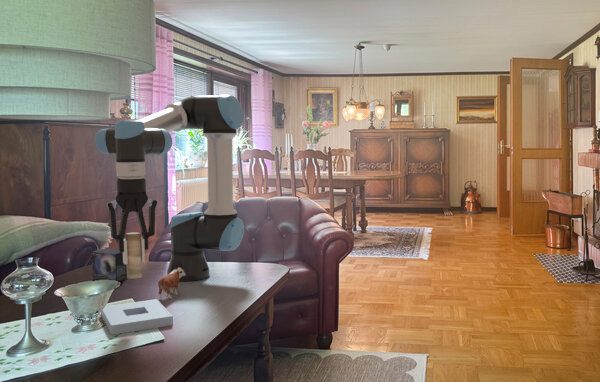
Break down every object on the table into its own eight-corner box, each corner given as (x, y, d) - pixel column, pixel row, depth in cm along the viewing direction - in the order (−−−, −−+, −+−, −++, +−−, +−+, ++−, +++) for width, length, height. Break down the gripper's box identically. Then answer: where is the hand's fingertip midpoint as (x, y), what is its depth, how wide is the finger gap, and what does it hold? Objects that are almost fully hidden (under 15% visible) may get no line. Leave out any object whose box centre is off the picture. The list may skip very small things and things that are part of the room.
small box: (91, 280, 202) (90, 251, 201) (104, 276, 208) (103, 247, 207) (115, 283, 198) (114, 253, 197) (128, 278, 204) (126, 249, 203)
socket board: (101, 315, 163) (100, 306, 163) (157, 307, 170) (156, 299, 170) (111, 334, 147) (111, 325, 147) (173, 325, 154) (172, 316, 154)
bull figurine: (188, 290, 188) (187, 266, 187) (166, 302, 175) (165, 276, 174) (176, 289, 189) (176, 265, 188) (153, 301, 177) (152, 275, 176)
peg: (125, 276, 158) (124, 233, 157) (140, 274, 160) (138, 232, 159) (128, 279, 155) (127, 235, 153) (143, 277, 156) (142, 234, 155)
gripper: (100, 179, 147) (103, 268, 150) (165, 177, 155) (168, 261, 157) (96, 178, 154) (99, 263, 156) (159, 175, 162) (161, 256, 164)
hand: (134, 262), depth 157 cm, fingers closed on peg, 4 cm apart
